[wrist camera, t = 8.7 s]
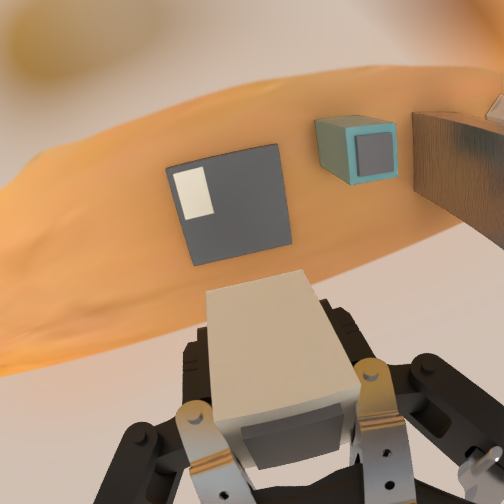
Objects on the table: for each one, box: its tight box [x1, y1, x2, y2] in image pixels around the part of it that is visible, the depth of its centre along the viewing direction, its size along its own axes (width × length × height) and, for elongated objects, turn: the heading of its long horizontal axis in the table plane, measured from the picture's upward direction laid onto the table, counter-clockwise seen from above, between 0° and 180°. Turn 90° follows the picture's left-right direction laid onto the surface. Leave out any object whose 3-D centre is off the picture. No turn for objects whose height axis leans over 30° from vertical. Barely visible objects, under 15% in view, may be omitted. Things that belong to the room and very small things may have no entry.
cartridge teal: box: [314, 115, 398, 185], centre depth 21 cm, size 4×4×6 cm
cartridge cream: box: [206, 269, 361, 470], centre depth 11 cm, size 4×4×6 cm
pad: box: [166, 144, 292, 266], centre depth 25 cm, size 9×9×1 cm
